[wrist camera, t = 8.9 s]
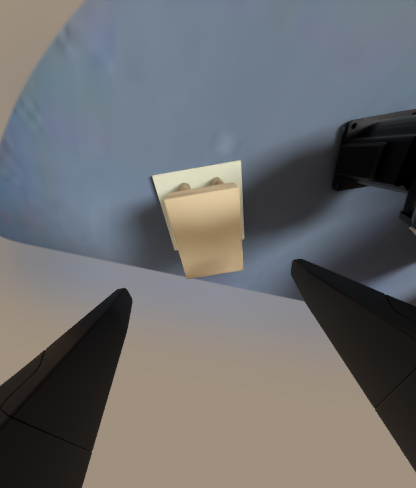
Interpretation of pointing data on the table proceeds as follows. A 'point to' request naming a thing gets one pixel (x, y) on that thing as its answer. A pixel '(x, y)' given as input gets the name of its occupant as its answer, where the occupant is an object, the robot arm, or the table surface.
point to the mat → (198, 184)
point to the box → (413, 230)
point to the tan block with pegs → (207, 228)
